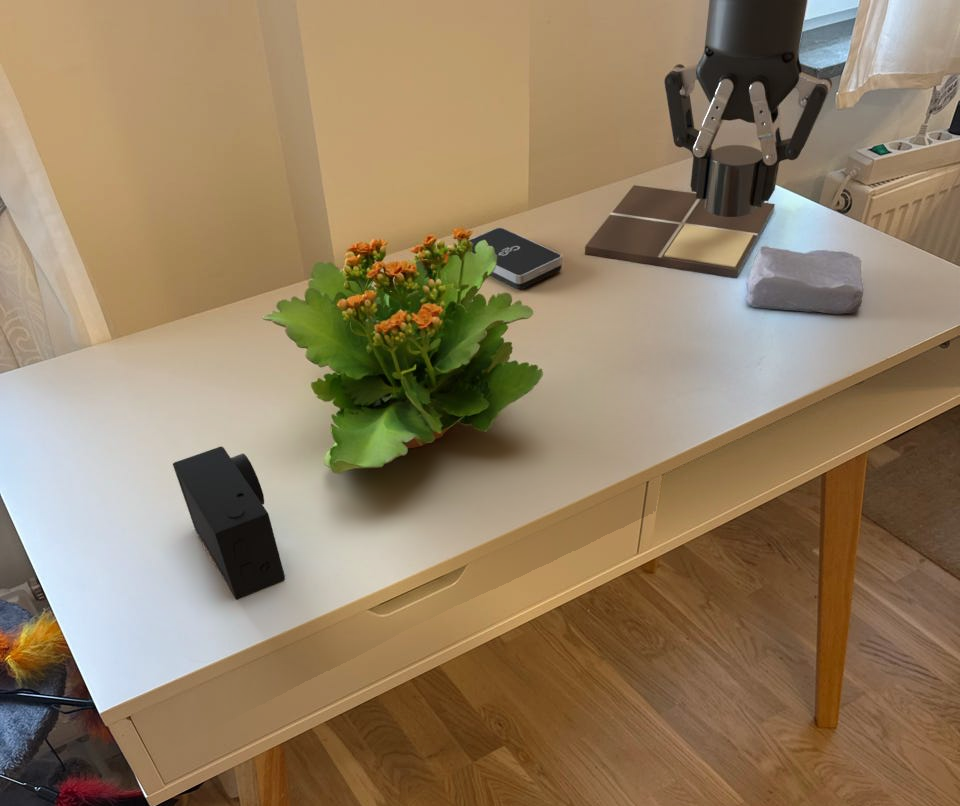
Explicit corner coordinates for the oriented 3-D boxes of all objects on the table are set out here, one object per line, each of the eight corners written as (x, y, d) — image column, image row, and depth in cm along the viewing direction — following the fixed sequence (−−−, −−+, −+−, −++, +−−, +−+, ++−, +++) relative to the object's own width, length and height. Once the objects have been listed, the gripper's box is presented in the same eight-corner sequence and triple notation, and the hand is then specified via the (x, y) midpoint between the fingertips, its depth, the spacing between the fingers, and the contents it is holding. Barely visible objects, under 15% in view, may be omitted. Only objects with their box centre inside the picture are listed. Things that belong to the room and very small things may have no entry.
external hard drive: (500, 242, 116) (499, 226, 115) (564, 273, 110) (565, 256, 109) (456, 262, 113) (455, 245, 112) (520, 294, 107) (519, 277, 106)
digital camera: (300, 575, 78) (283, 507, 73) (236, 600, 76) (215, 533, 71) (254, 506, 84) (235, 439, 79) (194, 528, 82) (171, 461, 77)
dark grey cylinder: (760, 199, 88) (769, 147, 85) (748, 220, 86) (756, 168, 82) (711, 193, 90) (717, 142, 87) (697, 213, 87) (703, 162, 84)
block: (745, 283, 110) (742, 309, 102) (753, 238, 107) (752, 262, 99) (852, 295, 108) (858, 322, 100) (864, 250, 105) (872, 275, 97)
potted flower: (241, 398, 95) (194, 223, 83) (443, 323, 104) (429, 153, 91) (361, 533, 81) (327, 345, 68) (585, 432, 89) (593, 248, 76)
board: (773, 211, 118) (775, 202, 117) (736, 278, 107) (738, 268, 107) (633, 192, 124) (633, 183, 123) (584, 254, 113) (584, 244, 112)
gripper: (657, -15, 75) (642, 207, 87) (846, -4, 70) (802, 228, 83) (684, -40, 79) (666, 174, 92) (864, -31, 75) (819, 193, 87)
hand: (731, 198), depth 87 cm, fingers closed on dark grey cylinder, 4 cm apart
